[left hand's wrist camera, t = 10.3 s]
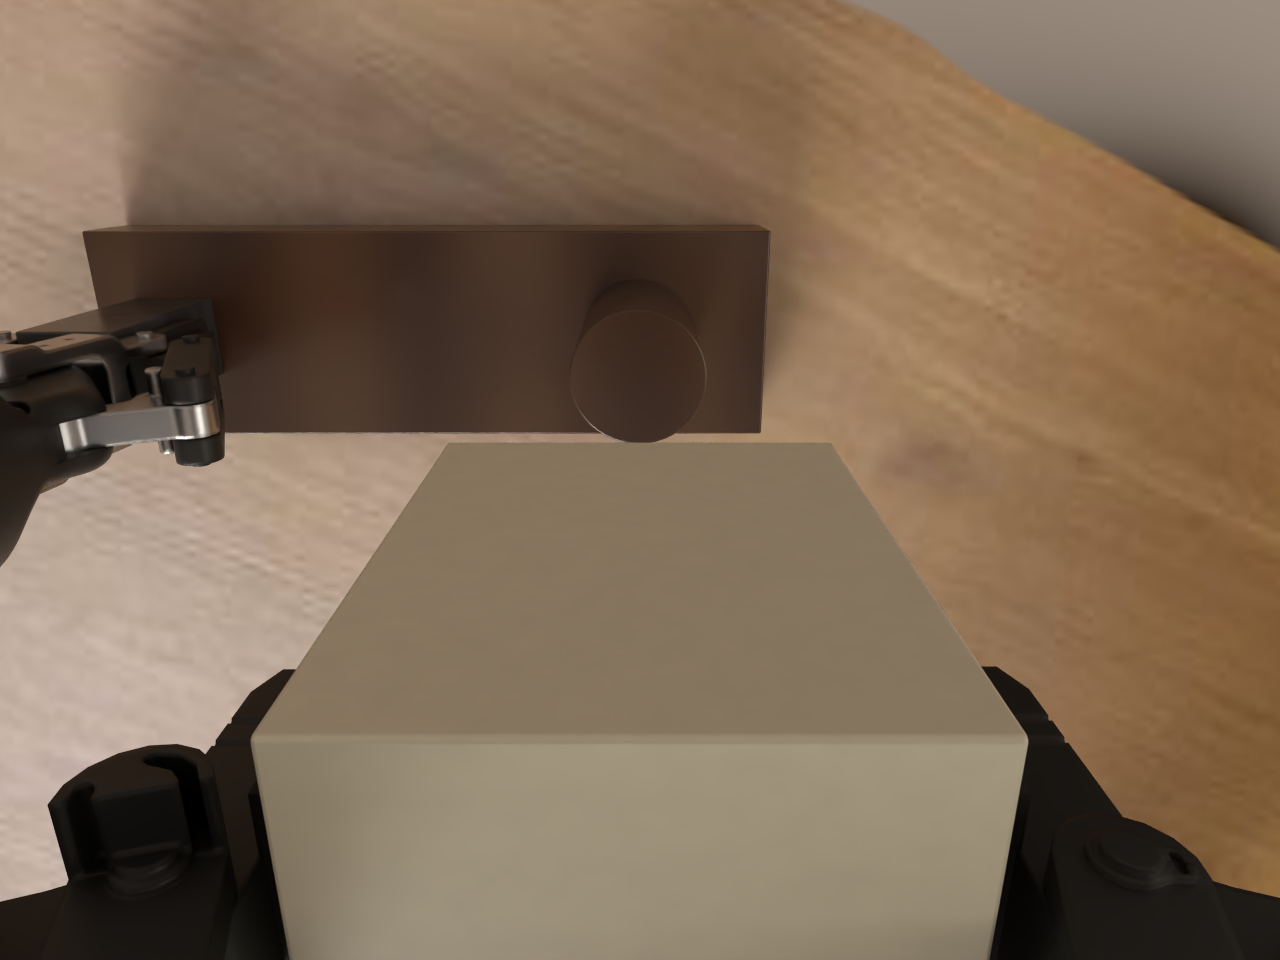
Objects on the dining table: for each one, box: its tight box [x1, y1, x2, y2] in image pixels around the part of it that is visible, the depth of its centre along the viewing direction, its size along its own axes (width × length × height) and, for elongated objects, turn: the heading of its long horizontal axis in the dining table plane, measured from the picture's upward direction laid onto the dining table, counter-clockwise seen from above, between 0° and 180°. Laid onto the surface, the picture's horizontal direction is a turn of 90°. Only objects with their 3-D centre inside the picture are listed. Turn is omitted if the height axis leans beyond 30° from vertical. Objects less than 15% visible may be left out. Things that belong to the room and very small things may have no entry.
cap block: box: [251, 443, 1028, 960], centre depth 11 cm, size 6×6×7 cm
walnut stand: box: [16, 225, 770, 443], centre depth 33 cm, size 26×8×10 cm, turn 90°
